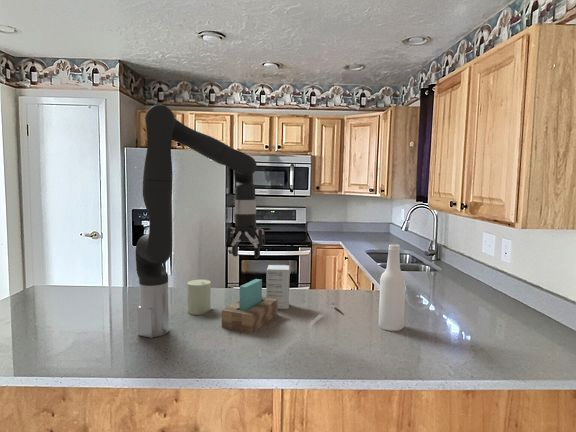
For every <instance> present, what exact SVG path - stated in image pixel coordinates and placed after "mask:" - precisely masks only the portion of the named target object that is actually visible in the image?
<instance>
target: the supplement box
mask: <svg viewBox="0 0 576 432" xmlns="http://www.w3.org/2000/svg"><path fill="white" fill-rule="evenodd" d="M290 269H291V267H290V265H287V264H268V265H267V268H266V283H265V284H266V286H265V287H266V289H265V290H266V291H265V293H266V297H265V298H272V299H278V310H282V309H283V310H289V308H290V285H291V284H290V283H291V282H290V278H291V277H290V275H291V274H290V273H291V270H290Z"/></svg>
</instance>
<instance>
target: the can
mask: <svg viewBox="0 0 576 432" xmlns="http://www.w3.org/2000/svg"><path fill="white" fill-rule="evenodd" d="M211 283H212V282H211V280H209V279H192V280H188V281H187V283H186V284H187V308H186V309H187V310H186V312H187V313H188V314H190V315H193V316H194V315H196V316H197V315H204V314H205V313H207V312H209V311H211V310H212V308H211V292H212V291H211V286H212V285H211Z"/></svg>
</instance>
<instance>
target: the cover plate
mask: <svg viewBox="0 0 576 432" xmlns="http://www.w3.org/2000/svg"><path fill="white" fill-rule="evenodd" d="M262 291H263V279H262V278H261V279H259V278H258V279H257V278H255V279H252V280H250V281H249V282H247V283H244V284H242V285H240V286H239V301H240V311H247V310H249V309H250V308H252V307H254V306H255V305H257V304H259V303H261V302H262V297H263V296H262V295H263V292H262Z"/></svg>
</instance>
